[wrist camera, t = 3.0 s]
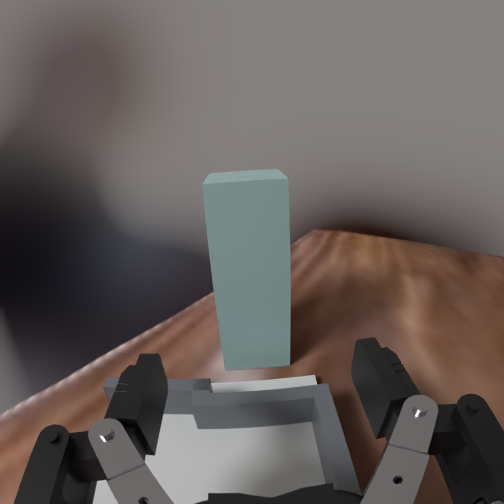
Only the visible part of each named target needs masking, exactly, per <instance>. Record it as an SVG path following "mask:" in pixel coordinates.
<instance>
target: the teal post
mask: <svg viewBox="0 0 504 504" xmlns="http://www.w3.org/2000/svg"><path fill="white" fill-rule="evenodd" d="M202 188H203V198H204V208H205V218H206V227H207V237H208V245H209V255H210V263H211V271H212V279H213V287H214V296H215V303H216V311H217V318H218V326H219V333H220V340H221V347H222V353H223V360H224V367H225V370H241V369H257V368H269V367H281V366H290V317H291V289H290V222H289V221H290V218H289V185H288V178H287V177H286V176H285V175H284V174H283V173H282V172H281V171H280V170H278V169H268V170H252V171H251V170H249V171H235V172H222V173H211V174H209V175H208V177H207V178H206V180H205V181H204V183H203V184H202Z"/></svg>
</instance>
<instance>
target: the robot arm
mask: <svg viewBox="0 0 504 504" xmlns="http://www.w3.org/2000/svg"><path fill="white" fill-rule="evenodd" d="M351 375H352V380H353V383H354V385H355V387H356V390H357V392H358V395H359V397H360V400H361V402H362V405H363V407H364V410H365V412H366V415H367V417H368V420H369V422H370V425H371V427H372V430H373V432H374V435H375V438H376V439H379V438H383V437H385V438H386V440H387V444H386V446H385V448H384V451H383V453H382V455H381V457H380V460H379V462H378V464H377V466H376V468H375V470H374V472H373V475H372V477H371V479H370V481H369V483H368V484H367V486H366V488H365V490H364V492H363V494H362V496H361V495H359V494H356V493H353V492H350V491H345V490H334V486H333V483H328V484H322V485H316V486H310V487H303V488H300V489H297V490H294V491H291V492H288V493H285V494H282V495H279V496H276V497H262V496H255V495H249V494H243V493H208V500H205V501H201V502H198V503H195V504H413V503H414V500H415V497H416V495H417V492H418V489H419V487H420V484H421V481H422V478H423V475H424V472H425V469H426V466H427V463H428V460H429V455H435V456H436V459H437V461H438V463H439V466H440V469H441V471H442V474H443V476H444V479H445V481H446V484H447V487H448V489H449V492H450V495H451V498H452V500H453V503H454V504H504V431H503V429H502V427H501V426H500V424H499V422H498V421H497V419H496V417H495V416H494V414H493V412H492V411H491V409H490V408H489V406H488V404H487V403H486V401H485V400H484V399H483V398H482V397H480V396H478V395H475V394H466V395H463V396H462V397H461V398H460V399H459V400H458V402H457V404H449V405H438V404H436V402H435V401H434V400H433V399H431V398H430V397H428V396H424V395H421V394H420V393H419V391H418V389H417V388H416V386H415V384H414V383H413V381H412V379H411V378H410V376H409V374H408V373H407V371H405V368H404V366H403V364H401V361H400V360H399V358H398V356H397V355H396V353H394V352H393V351H391V350H390V349H389V348H387V347H385V348H381V346H380V345H379V343H378V341H377V340H376V338H374V337H372V338H366V339H359V340H357V341H356V343H355V349H354V355H353V361H352V367H351ZM167 395H168V382H167V378H166V375H165V371H164V368H163V365H162V361H161V358H160V355H159V354H140V355H139V358H138V360H137V363H136V365H129V366H128V367H127V368H126V369H125V370H124V371H123V372H122V374H121V376H120V378H119V381H118V384H117V386H116V389H115V392H114V394H113V396H112V399H111V401H110V404H109V407H108V409H107V412H106V415H105V417H104V419H102V420H99V421H97V422H95V423H94V424H93V425H92V426H91V428H90V429H89V431H84V432H76V433H69V432H68V431H67V430H66V428H65V427H63V426H61V425H50V426H47V427H46V428H44V429H43V430H42V431H41V432H40V434H39V436H38V438H37V441H36V443H35V446H34V448H33V451H32V453H31V456H30V459H29V461H28V464H27V467H26V469H25V472H24V475H23V478H22V481H21V483H20V486H19V489H18V492H17V496H16V499H15V502H14V504H93V500H94V495H95V490H96V485H97V481H102V480H106V481H107V484H108V486H109V488H110V490H111V491H112V493H113V495H114V497H115V499H116V500H117V502H118V504H174V503H173V501H172V500H171V499H170V497H169V496H168V495H167V493H166V492H165V491H164V489H163V488H162V487H161V485H160V484H159V482H158V481H157V479H156V478H155V477H154V475H153V474H152V472H151V471H150V469H149V468H148V466H147V465H146V463H145V457H146V455H154V456H155V454H156V448H157V443H158V438H159V433H160V428H161V424H162V419H163V414H164V409H165V405H166V400H167Z"/></svg>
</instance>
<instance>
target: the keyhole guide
mask: <svg viewBox="0 0 504 504" xmlns="http://www.w3.org/2000/svg"><path fill="white" fill-rule="evenodd" d="M118 381H119V378H118V377H107V379H106V382H105V384H104V386H103V388H104V390H105V392H106V394H107V396H108V398H109V400H110V401H111V399H112V396H113V394H114V392H115V389H116V386H117V384H118ZM167 382H168V395H167V400H166V405H165V409H164V414H163V419H162V424H161V428H160V433H159V438H158V443H157V448H156V454H155V456H154V455H146V457H145V463H146V465H147V466H148V468H149V469H150V471H151V472H152V474H153V475H154V477H155V478H156V479H157V481H158V482H159V484H160V485H161V487H162V488H163V489H164V491H165V492H166V493H167V495H168V496H169V497H170V499H171V500H172V501H173V503H174V504H195V503H198V502H201V501H205V500H208V493H243V494H249V495H255V496H262V497H276V496H279V495H282V494H285V493H288V492H291V491H294V490H297V489H300V488H303V487H310V486H316V485H322V484H328V483H333V486H334V490H345V491H350V492H353V493H356V494H359V495H361V496H362V494H361V490H360V487H359V484H358V480H357V477H356V473H355V470H354V467H353V463H352V460H351V457H350V453H349V450H348V447H347V443H346V440H345V437H344V434H343V430H342V427H341V424H340V421H339V418H338V414H337V411H336V408H335V405H334V402H333V399H332V396H331V392H330V389H329V386H328V383H324V384H317V382H316V378H315V375H310V376H302V377H293V378H283V379H272V380H260V381H246V382H227V383H211V381H210V379H167ZM93 504H118V502H117V500H116V499H115V497H114V495H113V493H112V491H111V490H110V488H109V486H108V484H107V481H106V480H102V481H97V485H96V490H95V495H94V500H93Z"/></svg>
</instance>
